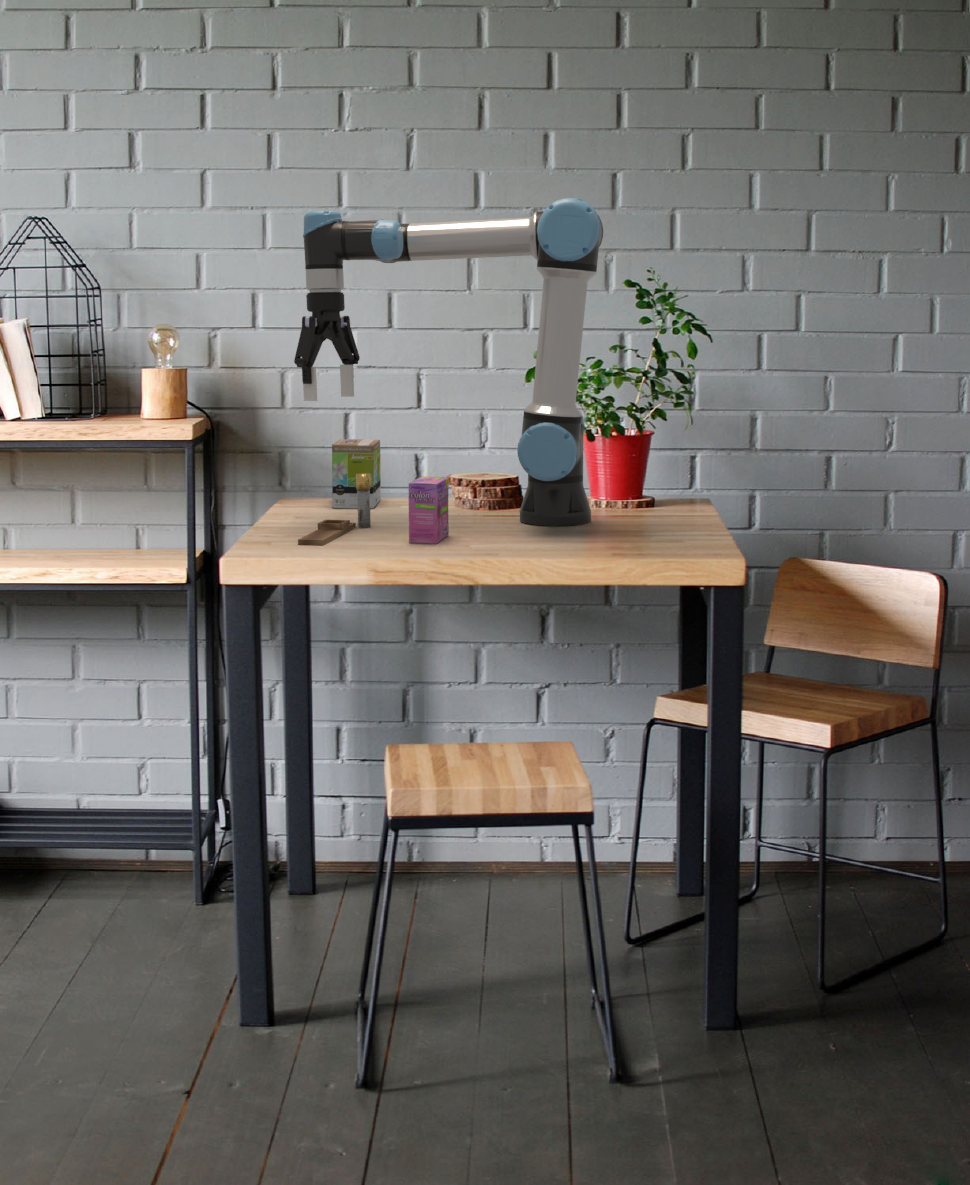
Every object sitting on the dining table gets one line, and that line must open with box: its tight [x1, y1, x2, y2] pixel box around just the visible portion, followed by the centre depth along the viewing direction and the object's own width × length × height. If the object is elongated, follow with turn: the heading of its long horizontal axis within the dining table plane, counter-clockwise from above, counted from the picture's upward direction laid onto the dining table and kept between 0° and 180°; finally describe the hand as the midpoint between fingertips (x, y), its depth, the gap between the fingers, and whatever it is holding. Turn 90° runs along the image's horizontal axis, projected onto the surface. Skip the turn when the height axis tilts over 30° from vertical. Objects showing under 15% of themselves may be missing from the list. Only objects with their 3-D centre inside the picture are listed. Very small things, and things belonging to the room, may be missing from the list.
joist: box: [297, 519, 357, 546], centre depth 264 cm, size 5×22×2 cm, turn 169°
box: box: [408, 475, 450, 545], centre depth 258 cm, size 10×6×12 cm, turn 168°
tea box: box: [331, 438, 382, 510], centre depth 306 cm, size 15×10×15 cm
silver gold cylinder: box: [356, 473, 372, 529], centre depth 273 cm, size 3×3×11 cm
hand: (329, 398), depth 269 cm, fingers open, 13 cm apart
